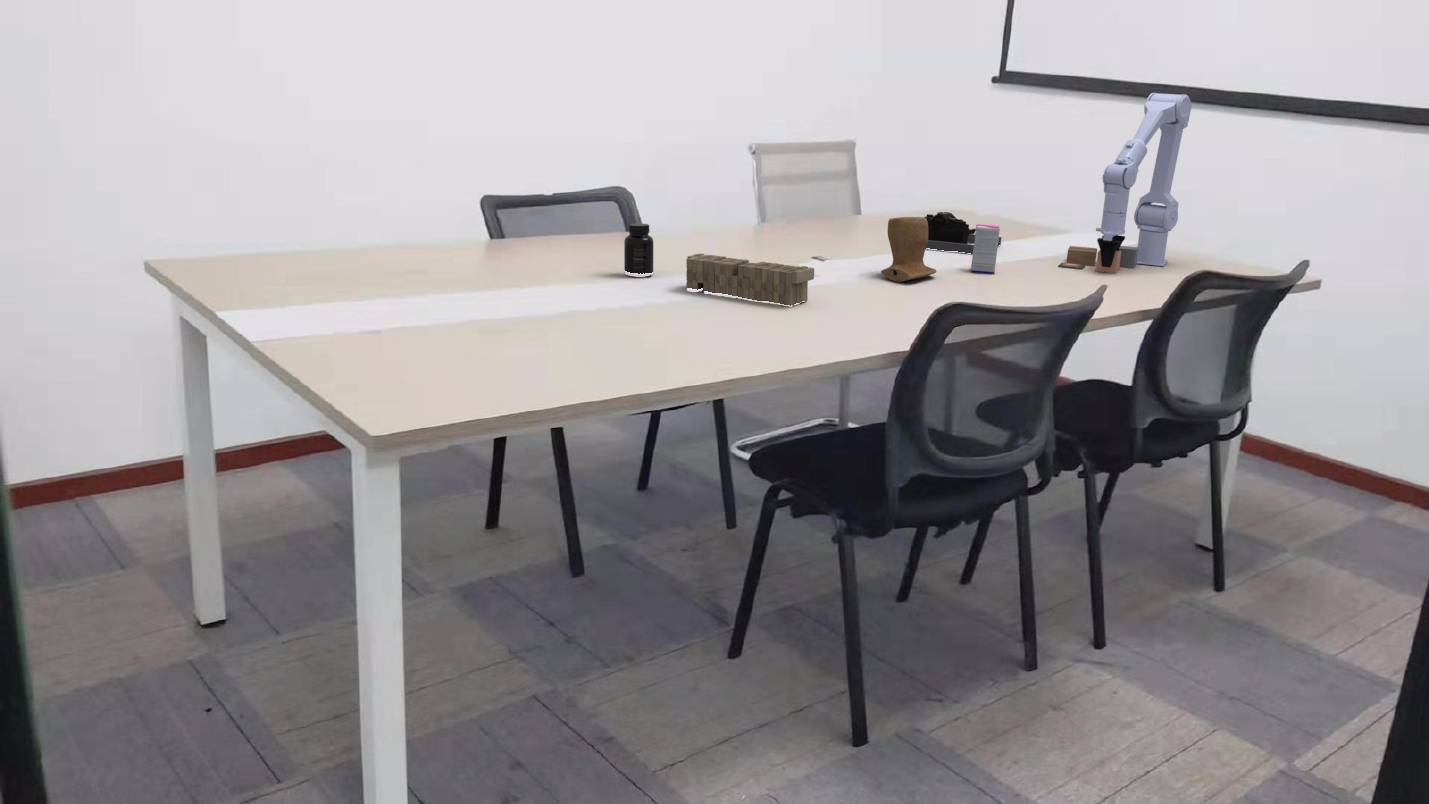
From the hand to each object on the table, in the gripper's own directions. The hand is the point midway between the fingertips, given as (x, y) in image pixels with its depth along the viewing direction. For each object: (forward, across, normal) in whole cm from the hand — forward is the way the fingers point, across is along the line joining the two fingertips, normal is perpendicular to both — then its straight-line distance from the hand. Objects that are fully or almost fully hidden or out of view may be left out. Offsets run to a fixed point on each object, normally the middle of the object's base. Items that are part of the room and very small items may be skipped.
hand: (1107, 265), depth 300 cm
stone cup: (+2, +41, -41) cm, 58 cm away
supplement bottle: (+2, +76, -95) cm, 122 cm away
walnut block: (+2, -8, -8) cm, 11 cm away
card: (+1, 0, -9) cm, 9 cm away
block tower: (+2, +83, -64) cm, 105 cm away
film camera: (+2, -11, -45) cm, 47 cm away
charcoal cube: (+2, -10, +3) cm, 11 cm away
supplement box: (+2, +21, -27) cm, 34 cm away
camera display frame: (+1, -13, -45) cm, 47 cm away
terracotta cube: (+1, 0, 0) cm, 1 cm away
